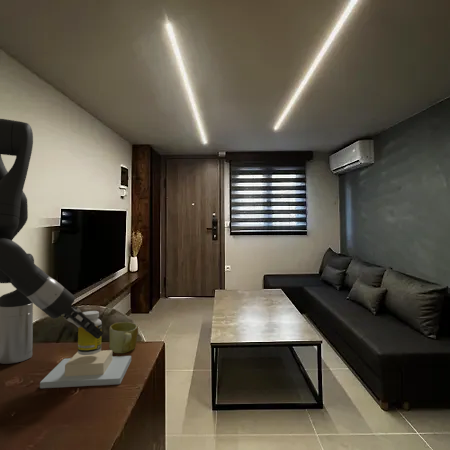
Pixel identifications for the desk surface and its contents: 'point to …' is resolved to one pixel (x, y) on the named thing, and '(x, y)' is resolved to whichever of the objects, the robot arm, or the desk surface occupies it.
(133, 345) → the mug
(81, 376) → the board
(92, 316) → the pill bottle
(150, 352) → the desk surface
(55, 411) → the desk surface
